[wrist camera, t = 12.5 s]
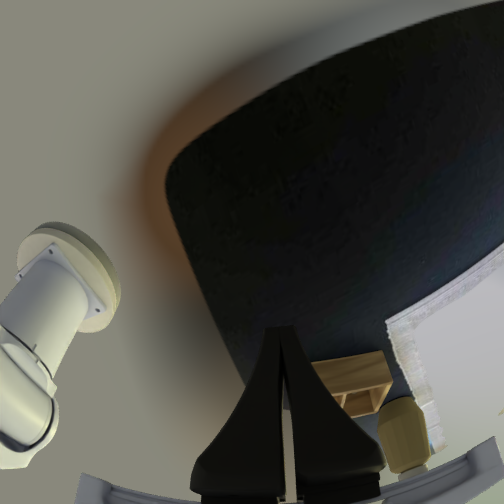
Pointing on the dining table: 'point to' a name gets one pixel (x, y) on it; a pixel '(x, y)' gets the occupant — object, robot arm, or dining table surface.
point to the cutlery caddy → (356, 381)
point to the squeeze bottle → (404, 437)
